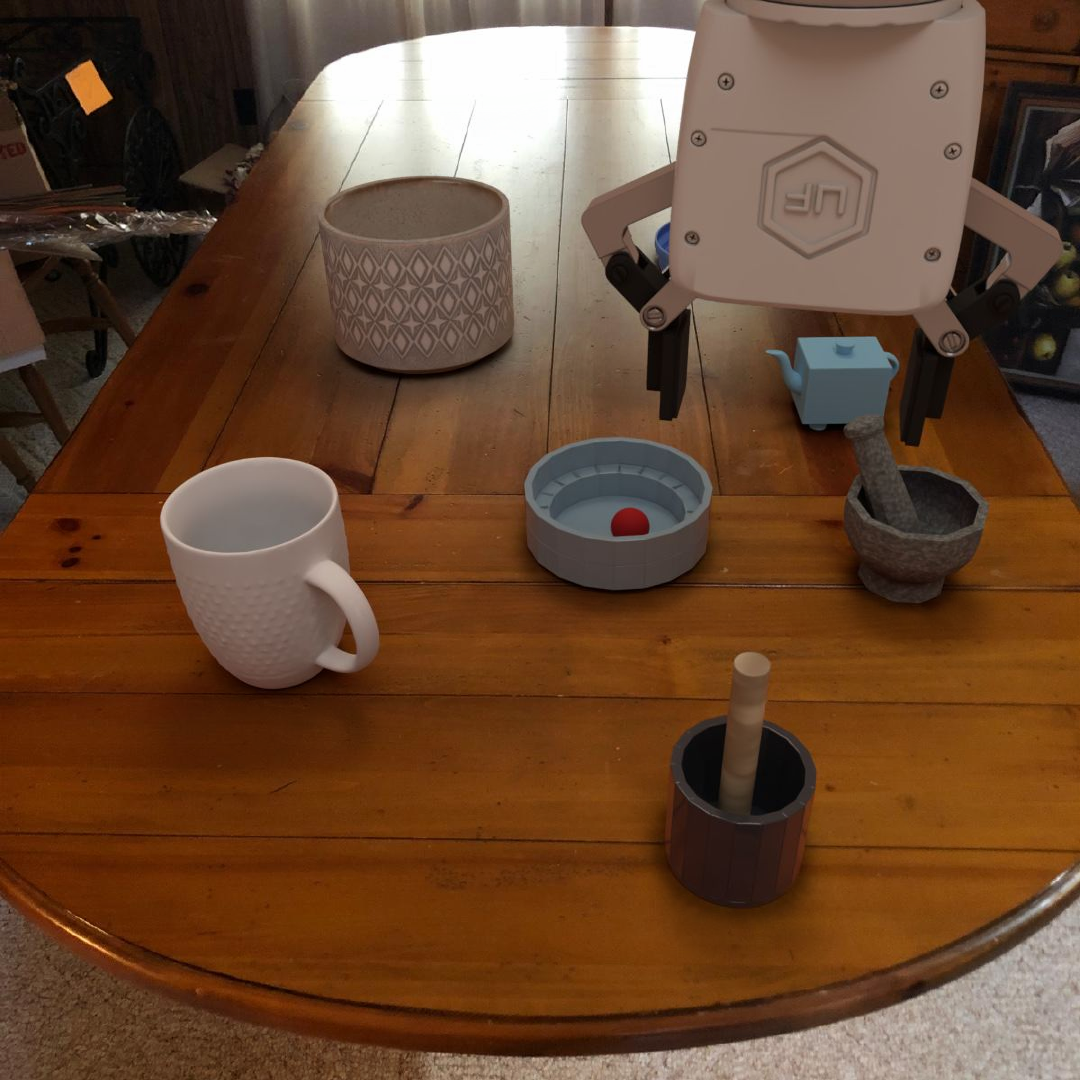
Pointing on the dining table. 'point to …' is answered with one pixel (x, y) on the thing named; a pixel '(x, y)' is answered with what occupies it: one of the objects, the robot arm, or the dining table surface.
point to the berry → (629, 523)
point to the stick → (743, 732)
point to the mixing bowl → (598, 494)
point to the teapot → (837, 378)
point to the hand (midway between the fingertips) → (788, 416)
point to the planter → (419, 272)
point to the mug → (268, 571)
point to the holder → (738, 817)
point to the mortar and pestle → (907, 519)
